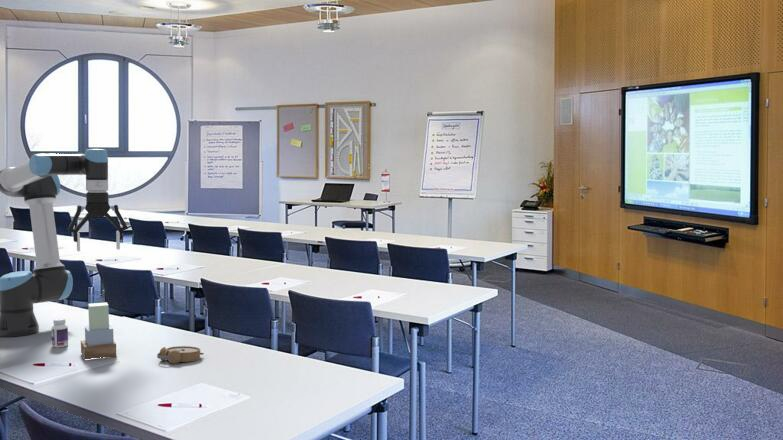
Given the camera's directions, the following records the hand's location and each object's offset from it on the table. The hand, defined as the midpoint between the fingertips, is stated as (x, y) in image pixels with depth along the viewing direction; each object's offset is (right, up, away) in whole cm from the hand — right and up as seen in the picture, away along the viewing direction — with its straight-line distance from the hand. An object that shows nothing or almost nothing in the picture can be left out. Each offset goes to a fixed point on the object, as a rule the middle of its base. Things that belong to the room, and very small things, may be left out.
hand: (98, 250), depth 274 cm
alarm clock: (+35, -37, -21) cm, 55 cm away
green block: (+7, -26, -16) cm, 31 cm away
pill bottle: (-13, -35, -3) cm, 37 cm away
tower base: (+6, -36, -16) cm, 40 cm away
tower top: (+7, -31, -16) cm, 35 cm away
